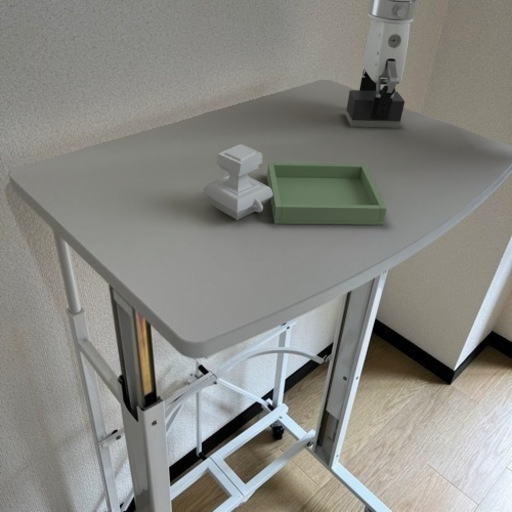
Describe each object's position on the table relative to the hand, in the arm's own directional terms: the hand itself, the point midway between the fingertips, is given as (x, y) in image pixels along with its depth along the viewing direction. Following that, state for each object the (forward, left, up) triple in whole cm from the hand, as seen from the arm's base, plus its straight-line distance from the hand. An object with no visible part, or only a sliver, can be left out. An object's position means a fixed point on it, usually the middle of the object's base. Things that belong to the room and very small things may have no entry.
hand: (372, 108), depth 101 cm
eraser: (0, 0, -3) cm, 3 cm away
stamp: (+26, +32, -3) cm, 41 cm away
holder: (+14, +29, -3) cm, 32 cm away
